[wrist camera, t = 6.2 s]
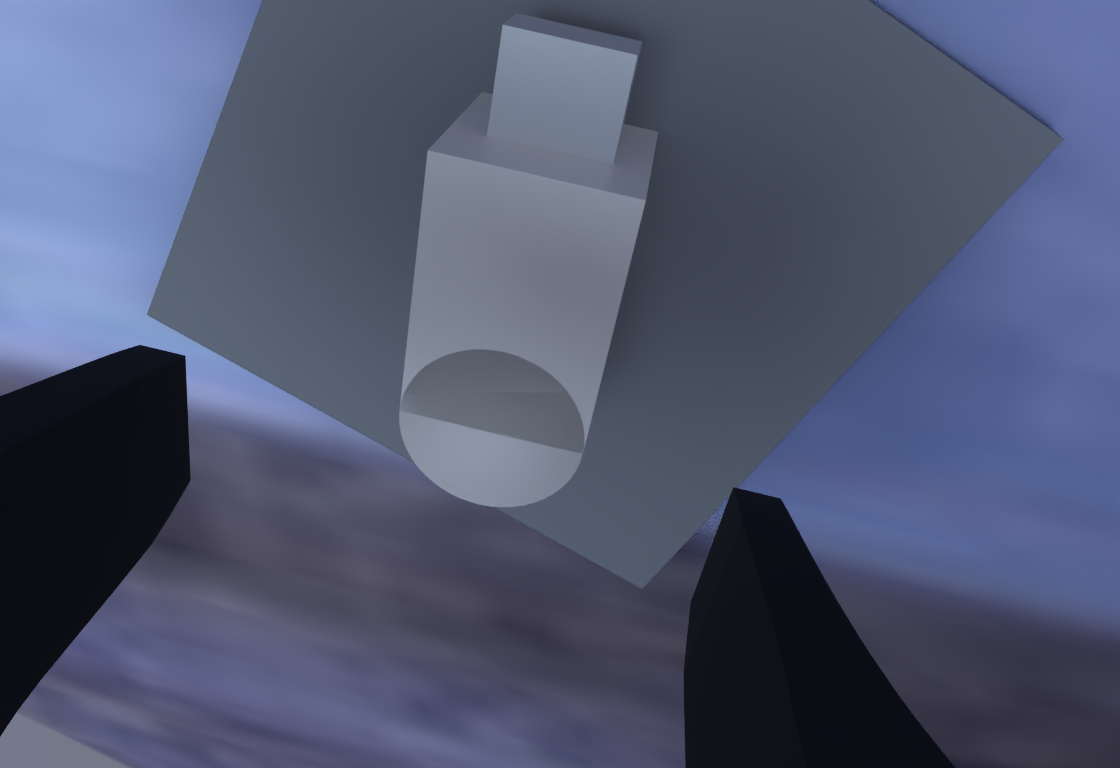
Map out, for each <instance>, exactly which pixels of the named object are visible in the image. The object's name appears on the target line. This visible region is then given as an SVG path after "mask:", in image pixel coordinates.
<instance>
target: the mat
mask: <svg viewBox="0 0 1120 768" xmlns="http://www.w3.org/2000/svg"><path fill="white" fill-rule="evenodd" d="M516 13H519V14H523V15H528V16H532V17H537V18H541V19H545V20H550V21H554V22H559V23H563V24H567V25H572V26H576V27H581V28H585V29H590V30H594V31H598V32H603V33H607V34H612V35H616V36H621V37H625V38H629V39H634V40H638V41H642V46H641V50H640V55H639V59H638V64H637V68H636V73H635V77H634V81H633V86H632V90H631V95H630V99H629V104H628V108H627V113H626V117H625V122H624V124H627V125H631V126H636V127H640V128H644V129H649V130H653V131H658V136H657V142H656V147H655V153H654V158H653V164H652V169H651V175H650V180H649V186H648V191H647V197H646V202H645V206H644V210H643V214H642V218H641V222H640V226H639V230H638V234H637V238H636V242H635V246H634V250H633V254H632V258H631V262H630V266H629V270H628V274H627V278H626V282H625V286H624V290H623V294H622V298H621V302H620V306H619V311H618V315H617V319H616V323H615V327H614V331H613V335H612V339H611V343H610V347H609V351H608V355H607V359H606V363H605V367H604V371H603V375H602V379H601V383H600V387H599V391H598V395H597V399H596V403H595V407H594V411H593V415H592V419H591V423H590V427H589V431H588V435H587V439H586V443H585V447H584V451H583V455H582V458H581V461H580V464H579V466H578V468H577V470H576V472H575V473H574V475H573V476H572V477H571V479H570V480H569V481H568V482H567V483H566V484H565V485H564V486H563V487H562V488H561V489H559V490H558V491H557V492H555V493H554V494H552V495H551V496H549V497H547V498H545V499H543V500H540V501H538V502H535V503H532V504H528V505H524V506H516V507H495V508H497V509H498V510H500V511H502V512H504V513H506V514H507V515H509V516H511V517H513V518H515V519H516V520H518V521H520V522H522V523H524V524H525V525H527V526H529V527H531V528H533V529H534V530H536V531H538V532H540V533H542V534H543V535H545V536H547V537H549V538H551V539H552V540H554V541H556V542H558V543H560V544H561V545H563V546H565V547H567V548H569V549H570V550H572V551H574V552H576V553H578V554H580V555H581V556H583V557H585V558H587V559H589V560H590V561H592V562H594V563H596V564H598V565H599V566H601V567H603V568H605V569H607V570H608V571H610V572H612V573H614V574H616V575H617V576H619V577H621V578H623V579H625V580H626V581H628V582H630V583H632V584H634V585H635V586H637V587H639V588H641V589H643V588H644V587H645V586H646V584H647V583H648V582H649V581H650V580H651V579H652V578H653V577H654V576H655V575H656V574H657V573H658V572H659V571H660V570H661V568H662V567H663V566H664V565H665V564H666V563H667V562H668V561H669V560H670V559H671V558H672V557H673V556H674V555H675V554H676V552H677V551H678V550H679V549H680V548H681V547H682V546H683V545H684V544H685V543H686V542H687V541H688V540H689V539H690V538H691V536H692V535H693V534H694V533H695V532H696V531H697V530H698V529H699V528H700V527H701V526H702V525H703V524H704V523H705V522H706V520H707V519H708V518H709V517H710V516H711V515H712V514H713V513H714V512H715V511H716V510H717V509H718V508H719V507H720V506H721V504H722V503H723V502H724V501H725V500H726V499H727V498H728V497H729V496H730V495H731V492H732V489H733V487H734V488H737V487H738V486H739V485H740V484H741V483H742V482H743V481H744V480H745V479H746V478H747V477H748V476H749V475H750V474H751V472H752V471H753V470H754V469H755V468H756V467H757V466H758V465H759V464H760V463H761V462H762V461H763V460H764V459H765V458H766V456H767V455H768V454H769V453H770V452H771V451H772V450H773V449H774V448H775V447H776V446H777V445H778V444H779V443H780V442H781V440H782V439H783V438H784V437H785V436H786V435H787V434H788V433H789V432H790V431H791V430H792V429H793V428H794V427H795V426H796V424H797V423H798V422H799V421H800V420H801V419H802V418H803V417H804V416H805V415H806V414H807V413H808V412H809V411H810V410H811V408H812V407H813V406H814V405H815V404H816V403H817V402H818V401H819V400H820V399H821V398H822V397H823V396H824V395H825V394H826V392H827V391H828V390H829V389H830V388H831V387H832V386H833V385H834V384H835V383H836V382H837V381H838V380H839V379H840V378H841V376H842V375H843V374H844V373H845V372H846V371H847V370H848V369H849V368H850V367H851V366H852V365H853V364H854V363H855V362H856V360H857V359H858V358H859V357H860V356H861V355H862V354H863V353H864V352H865V351H866V350H867V349H868V348H869V347H870V346H871V344H872V343H873V342H874V341H875V340H876V339H877V338H878V337H879V336H880V335H881V334H882V333H883V332H884V331H885V330H886V328H887V327H888V326H889V325H890V324H891V323H892V322H893V321H894V320H895V319H896V318H897V317H898V316H899V315H900V314H901V312H902V311H903V310H904V309H905V308H906V307H907V306H908V305H909V304H910V303H911V302H912V301H913V300H914V299H915V298H916V296H917V295H918V294H919V293H920V292H921V291H922V290H923V289H924V288H925V287H926V286H927V285H928V284H929V283H930V282H931V280H932V279H933V278H934V277H935V276H936V275H937V274H938V273H939V272H940V271H941V270H942V269H943V268H944V267H945V266H946V264H947V263H948V262H949V261H950V260H951V259H952V258H953V257H954V256H955V255H956V254H957V253H958V252H959V251H960V250H961V248H962V247H963V246H964V245H965V244H966V243H967V242H968V241H969V240H970V239H971V238H972V237H973V236H974V235H975V234H976V232H977V231H978V230H979V229H980V228H981V227H982V226H983V225H984V224H985V223H986V222H987V221H988V220H989V219H990V218H991V216H992V215H993V214H994V213H995V212H996V211H997V210H998V209H999V208H1000V207H1001V206H1002V205H1003V204H1004V203H1005V202H1006V200H1007V199H1008V198H1009V197H1010V196H1011V195H1012V194H1013V193H1014V192H1015V191H1016V190H1017V189H1018V188H1019V187H1020V186H1021V184H1022V183H1023V182H1024V181H1025V180H1026V179H1027V178H1028V177H1029V176H1030V175H1031V174H1032V173H1033V172H1034V171H1035V170H1036V168H1037V167H1038V166H1039V165H1040V164H1041V163H1042V162H1043V161H1044V160H1045V159H1046V158H1047V157H1048V156H1049V155H1050V154H1051V152H1052V151H1053V150H1054V149H1055V148H1056V147H1057V146H1058V145H1059V144H1060V143H1061V142H1062V141H1063V140H1064V139H1063V138H1062V137H1061V136H1059V135H1058V134H1057V133H1056V132H1055V131H1053V130H1052V129H1051V128H1049V127H1048V126H1046V125H1045V124H1043V123H1042V122H1041V121H1039V120H1038V119H1036V118H1035V117H1034V116H1032V115H1031V114H1029V113H1028V112H1027V111H1025V110H1024V109H1022V108H1021V107H1020V106H1018V105H1017V104H1015V103H1014V102H1013V101H1011V100H1010V99H1008V98H1007V97H1005V96H1004V95H1003V94H1001V93H1000V92H998V91H997V90H996V89H994V88H993V87H991V86H990V85H989V84H987V83H986V82H984V81H983V80H982V79H980V78H979V77H977V76H976V75H975V74H973V73H972V72H970V71H969V70H967V69H966V68H965V67H963V66H962V65H960V64H959V63H958V62H956V61H955V60H953V59H952V58H951V57H949V56H948V55H946V54H945V53H944V52H942V51H941V50H939V49H938V48H936V47H935V46H934V45H932V44H931V43H929V42H928V41H927V40H925V39H924V38H922V37H921V36H920V35H918V34H917V33H915V32H914V31H913V30H911V29H910V28H908V27H907V26H906V25H904V24H903V23H901V22H900V21H898V20H897V19H896V18H894V17H893V16H891V15H890V14H889V13H887V12H886V11H884V10H883V9H882V8H880V7H879V6H877V5H876V4H875V3H873V2H872V1H870V0H262V3H261V6H260V8H259V11H258V14H257V16H256V19H255V22H254V25H253V27H252V30H251V33H250V36H249V38H248V41H247V44H246V46H245V49H244V52H243V55H242V57H241V60H240V63H239V65H238V68H237V71H236V74H235V76H234V79H233V82H232V85H231V87H230V90H229V93H228V95H227V98H226V101H225V104H224V106H223V109H222V112H221V114H220V117H219V120H218V123H217V125H216V128H215V131H214V134H213V136H212V139H211V142H210V144H209V147H208V150H207V153H206V155H205V158H204V161H203V163H202V166H201V169H200V172H199V174H198V177H197V180H196V183H195V185H194V188H193V191H192V193H191V196H190V199H189V202H188V204H187V207H186V210H185V212H184V215H183V218H182V221H181V223H180V226H179V229H178V232H177V234H176V237H175V240H174V242H173V245H172V248H171V251H170V253H169V256H168V259H167V261H166V264H165V267H164V270H163V272H162V275H161V278H160V280H159V283H158V286H157V289H156V291H155V294H154V297H153V300H152V302H151V305H150V308H149V310H148V313H147V315H148V316H150V317H152V318H154V319H156V320H157V321H159V322H161V323H163V324H165V325H166V326H168V327H170V328H172V329H174V330H175V331H177V332H179V333H181V334H183V335H184V336H186V337H188V338H190V339H192V340H193V341H195V342H197V343H199V344H201V345H202V346H204V347H206V348H208V349H210V350H211V351H213V352H215V353H217V354H219V355H220V356H222V357H224V358H226V359H228V360H230V361H231V362H233V363H235V364H237V365H239V366H240V367H242V368H244V369H246V370H248V371H249V372H251V373H253V374H255V375H257V376H258V377H260V378H262V379H264V380H266V381H267V382H269V383H271V384H273V385H275V386H276V387H278V388H280V389H282V390H284V391H285V392H287V393H289V394H291V395H293V396H294V397H296V398H298V399H300V400H302V401H303V402H305V403H307V404H309V405H311V406H312V407H314V408H316V409H318V410H320V411H322V412H323V413H325V414H327V415H329V416H331V417H332V418H334V419H336V420H338V421H340V422H341V423H343V424H345V425H347V426H349V427H350V428H352V429H354V430H356V431H358V432H359V433H361V434H363V435H365V436H367V437H368V438H370V439H372V440H374V441H376V442H377V443H379V444H381V445H383V446H385V447H386V448H388V449H390V450H392V451H394V452H395V453H397V454H399V455H401V456H403V457H405V458H406V459H408V460H410V461H412V462H414V461H413V460H412V458H411V456H410V455H409V453H408V451H407V449H406V447H405V444H404V442H403V439H402V435H401V431H400V424H399V410H400V401H401V392H402V382H403V373H404V364H405V355H406V346H407V336H408V327H409V318H410V309H411V299H412V290H413V281H414V272H415V263H416V253H417V244H418V235H419V226H420V217H421V207H422V198H423V189H424V180H425V170H426V161H427V152H428V149H429V148H430V147H431V146H432V145H433V144H434V143H435V142H436V141H437V140H438V139H439V138H440V137H441V136H442V134H443V133H444V132H445V131H446V130H447V129H448V128H449V127H450V126H451V125H452V124H453V123H454V122H455V121H456V120H457V118H458V117H459V116H460V115H461V114H462V113H463V112H464V111H465V110H466V109H467V108H468V107H469V106H470V105H471V104H472V102H473V101H474V100H475V99H476V98H477V97H478V96H479V95H480V94H481V93H482V92H487V93H491V94H493V89H494V82H495V75H496V68H497V61H498V54H499V47H500V40H501V33H502V26H503V24H504V23H505V22H507V21H508V20H509V19H510V18H511V17H512V16H514V15H515V14H516ZM414 463H415V462H414Z"/></svg>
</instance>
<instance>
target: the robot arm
mask: <svg viewBox="0 0 1120 768" xmlns="http://www.w3.org/2000/svg"><path fill="white" fill-rule="evenodd" d="M189 482H190V457H189V433H188V409H187V385H186V361H185V356H184V355H180V354H175V353H171V352H167V351H163V350H159V349H155V348H150V347H146V346H142V345H138V346H135V347H132V348H128V349H125V350H122V351H119V352H116V353H113V354H110V355H108V356H105V357H102V358H99V359H97V360H94V361H91V362H89V363H86V364H83V365H81V366H78V367H75V368H73V369H70V370H68V371H65V372H62V373H60V374H57V375H55V376H52V377H50V378H47V379H44V380H42V381H39V382H37V383H34V384H31V385H29V386H26V387H23V388H21V389H18V390H15V391H13V392H10V393H8V394H5V395H2V396H0V736H1V735H2V733H3V732H4V730H5V728H6V727H7V725H8V724H9V723H10V721H11V720H12V718H13V717H14V715H15V714H16V712H17V711H18V709H19V708H20V707H21V705H22V704H23V703H24V701H25V700H26V699H27V697H28V696H29V695H30V694H31V692H32V691H33V690H34V688H35V687H36V686H37V684H38V683H39V682H40V680H41V679H42V678H43V677H44V675H45V674H46V673H47V672H48V670H49V669H50V668H51V667H52V666H53V664H54V663H55V662H56V661H57V660H58V658H59V657H60V656H61V655H62V653H63V652H64V651H65V650H66V649H67V647H68V646H69V645H70V644H71V643H72V641H73V640H74V639H75V638H76V636H77V635H78V634H79V633H80V632H81V630H82V629H83V628H84V627H85V626H86V624H87V623H88V622H89V621H90V620H91V618H92V617H93V616H94V615H95V613H96V612H97V611H98V610H99V609H100V607H101V606H102V605H103V604H104V603H105V601H106V600H107V599H108V598H109V596H110V595H111V594H112V593H113V592H114V590H115V589H116V588H117V587H118V585H119V584H120V583H121V582H122V580H123V579H124V578H125V577H126V576H127V574H128V573H129V572H130V571H131V569H132V568H133V567H134V566H135V564H136V563H137V562H138V561H139V559H140V558H141V557H142V556H143V554H144V553H145V552H146V551H147V549H148V548H149V547H150V545H151V544H152V543H153V541H154V540H155V538H156V537H157V535H158V533H159V532H160V530H161V529H162V527H163V526H164V524H165V522H166V521H167V519H168V518H169V516H170V514H171V513H172V511H173V509H174V508H175V506H176V504H177V502H178V501H179V499H180V497H181V496H182V494H183V492H184V490H185V489H186V487H187V485H188V484H189ZM684 716H685V757H686V768H955V767H954V766H953V765H952V763H951V762H950V761H949V760H948V758H947V757H946V756H945V755H944V753H943V752H942V751H941V750H940V748H939V747H938V746H937V745H936V743H935V742H934V741H933V740H932V738H931V737H930V736H929V735H928V733H927V732H926V731H925V730H924V728H923V727H922V726H921V725H920V723H919V722H918V721H917V720H916V718H915V717H914V715H913V714H912V713H911V711H910V710H909V709H908V707H907V706H906V705H905V703H904V702H903V701H902V699H901V698H900V697H899V695H898V694H897V692H896V691H895V690H894V688H893V687H892V685H891V684H890V682H889V681H888V679H887V678H886V676H885V675H884V674H883V672H882V671H881V669H880V668H879V666H878V665H877V663H876V662H875V660H874V659H873V658H872V656H871V655H870V653H869V652H868V650H867V648H866V647H865V645H864V644H863V642H862V641H861V639H860V638H859V636H858V634H857V633H856V631H855V629H854V628H853V626H852V624H851V623H850V621H849V619H848V618H847V616H846V614H845V613H844V611H843V609H842V608H841V606H840V604H839V603H838V601H837V599H836V598H835V596H834V594H833V593H832V591H831V589H830V587H829V586H828V584H827V582H826V580H825V579H824V577H823V575H822V573H821V571H820V570H819V568H818V566H817V564H816V562H815V561H814V559H813V557H812V555H811V553H810V552H809V550H808V548H807V546H806V544H805V542H804V540H803V539H802V537H801V535H800V533H799V531H798V529H797V527H796V525H795V524H794V522H793V520H792V518H791V516H790V514H789V513H788V511H787V509H786V507H785V505H784V504H783V502H782V500H781V499H780V498H776V497H772V496H767V495H763V494H759V493H755V492H751V491H747V490H742V489H738V488H734V487H733V489H732V492H731V495H730V497H729V500H728V503H727V505H726V508H725V511H724V514H723V516H722V519H721V522H720V524H719V527H718V530H717V533H716V535H715V538H714V541H713V544H712V546H711V549H710V552H709V554H708V557H707V560H706V563H705V565H704V568H703V571H702V573H701V576H700V579H699V582H698V584H697V587H696V590H695V592H694V595H693V598H692V601H691V606H690V615H689V625H688V634H687V644H686V655H685V666H684Z"/></svg>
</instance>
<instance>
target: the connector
mask: <svg viewBox="0 0 1120 768" xmlns="http://www.w3.org/2000/svg"><path fill="white" fill-rule="evenodd" d="M641 46H642V41H638V40H634V39H629V38H625V37H621V36H616V35H612V34H607V33H603V32H598V31H594V30H590V29H585V28H581V27H576V26H572V25H567V24H563V23H559V22H554V21H550V20H545V19H541V18H537V17H532V16H528V15H523V14H519V13H516V14H515V15H514V16H512V17H511V18H510V19H509V20H508V21H507V22H505V23H504V24H503V26H502V33H501V40H500V47H499V54H498V61H497V68H496V75H495V82H494V89H493V94H491V93H487V92H482V93H481V94H480V95H479V96H478V97H477V98H476V99H475V100H474V101H473V102H472V104H471V105H470V106H469V107H468V108H467V109H466V110H465V111H464V112H463V113H462V114H461V115H460V116H459V117H458V118H457V120H456V121H455V122H454V123H453V124H452V125H451V126H450V127H449V128H448V129H447V130H446V131H445V132H444V133H443V134H442V136H441V137H440V138H439V139H438V140H437V141H436V142H435V143H434V144H433V145H432V146H431V147H430V148H429V149H428V152H427V161H426V170H425V180H424V189H423V198H422V207H421V217H420V226H419V235H418V244H417V253H416V263H415V272H414V281H413V290H412V299H411V309H410V318H409V327H408V336H407V346H406V355H405V364H404V373H403V382H402V392H401V401H400V410H399V424H400V431H401V435H402V439H403V442H404V444H405V447H406V449H407V451H408V453H409V455H410V456H411V458H412V460H413V461H414V462H415V464H416V465H417V466H418V468H419V469H420V470H421V471H422V472H423V473H424V474H425V475H426V476H427V477H428V478H429V479H430V480H431V481H432V482H434V483H435V484H436V485H438V486H439V487H441V488H442V489H444V490H445V491H447V492H449V493H450V494H452V495H454V496H456V497H459V498H461V499H464V500H466V501H469V502H472V503H476V504H480V505H485V506H492V507H516V506H524V505H528V504H532V503H535V502H538V501H540V500H543V499H545V498H547V497H549V496H551V495H552V494H554V493H555V492H557V491H558V490H559V489H561V488H562V487H563V486H564V485H565V484H566V483H567V482H568V481H569V480H570V479H571V477H572V476H573V475H574V473H575V472H576V470H577V468H578V466H579V464H580V461H581V458H582V455H583V451H584V447H585V443H586V439H587V435H588V431H589V427H590V423H591V419H592V415H593V411H594V407H595V403H596V399H597V395H598V391H599V387H600V383H601V379H602V375H603V371H604V367H605V363H606V359H607V355H608V351H609V347H610V343H611V339H612V335H613V331H614V327H615V323H616V319H617V315H618V311H619V306H620V302H621V298H622V294H623V290H624V286H625V282H626V278H627V274H628V270H629V266H630V262H631V258H632V254H633V250H634V246H635V242H636V238H637V234H638V230H639V226H640V222H641V218H642V214H643V210H644V206H645V202H646V197H647V191H648V186H649V180H650V175H651V169H652V164H653V158H654V153H655V147H656V142H657V136H658V131H653V130H649V129H644V128H640V127H636V126H631V125H627V124H624V122H625V117H626V113H627V108H628V104H629V99H630V95H631V90H632V86H633V81H634V77H635V73H636V68H637V64H638V59H639V55H640V50H641Z"/></svg>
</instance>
